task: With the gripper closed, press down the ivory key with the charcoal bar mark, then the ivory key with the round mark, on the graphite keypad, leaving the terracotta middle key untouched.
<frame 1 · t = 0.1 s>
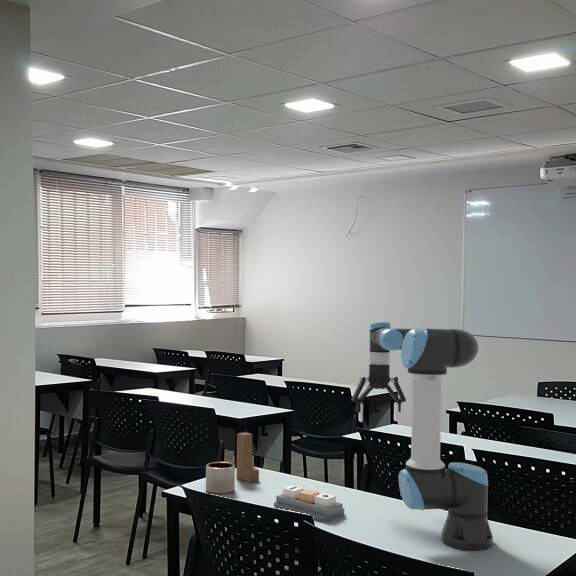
hand: (378, 421, 265), 28 cm above the table, fingers open, 13 cm apart
keypad: (308, 511, 246), on the table
planter: (220, 491, 270), on the table
wooden block: (247, 480, 286), on the table
blank key: (309, 496, 246), point 5 cm above the table, slide at 0.0 cm
bar key: (293, 492, 251), point 5 cm above the table, slide at 0.0 cm
dot key: (325, 500, 242), point 5 cm above the table, slide at 0.0 cm
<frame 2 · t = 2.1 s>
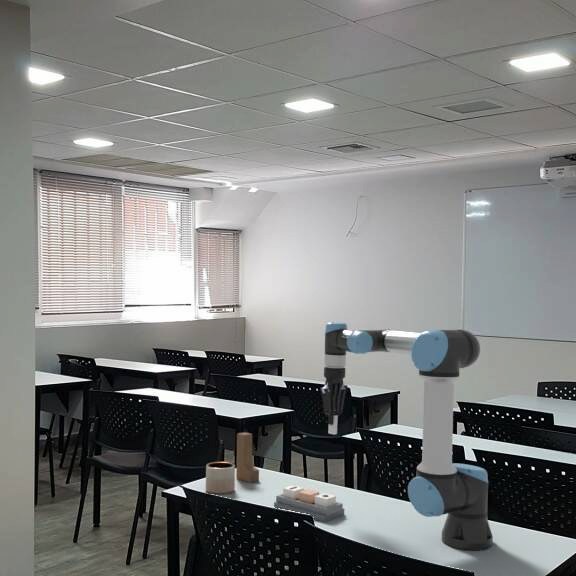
hand: (332, 433, 252), 26 cm above the table, fingers closed
nothing on the table moved.
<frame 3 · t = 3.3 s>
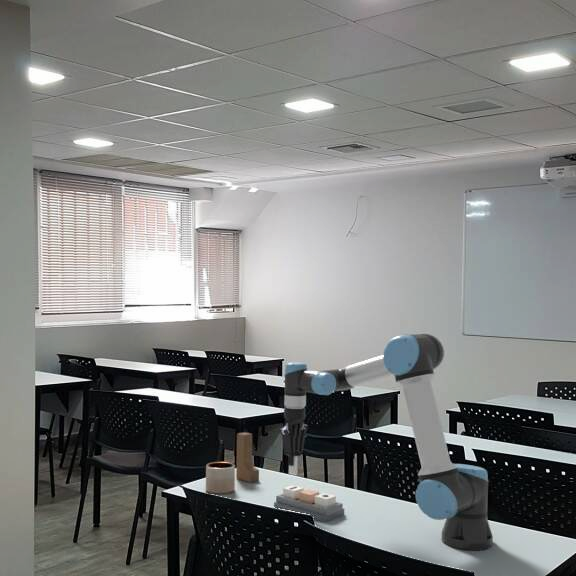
hand: (292, 474, 251), 11 cm above the table, fingers closed
nothing on the table moved.
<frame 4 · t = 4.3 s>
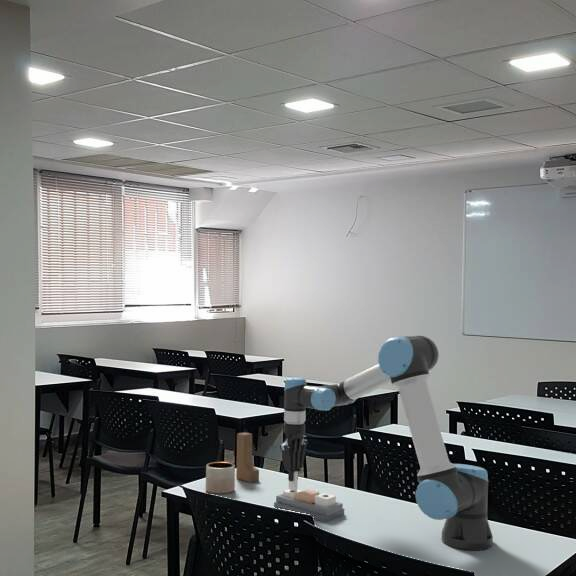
hand: (293, 489, 251), 6 cm above the table, fingers closed
bar key: (293, 495, 251), point 4 cm above the table, slide at 1.0 cm, touching gripper
everything else where it was.
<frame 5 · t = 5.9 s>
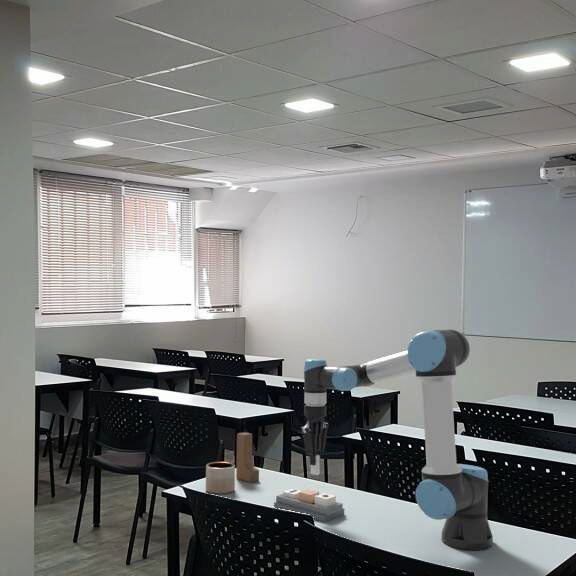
hand: (315, 474, 245), 13 cm above the table, fingers closed
bar key: (293, 495, 251), point 4 cm above the table, slide at 1.1 cm
everything else where it was.
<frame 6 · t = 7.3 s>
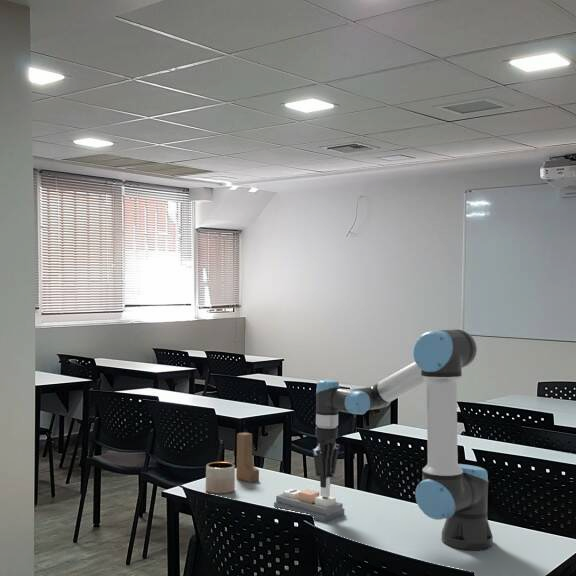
hand: (325, 496, 242), 7 cm above the table, fingers closed
dot key: (325, 501, 242), point 5 cm above the table, slide at 0.5 cm, touching gripper
everything else where it was.
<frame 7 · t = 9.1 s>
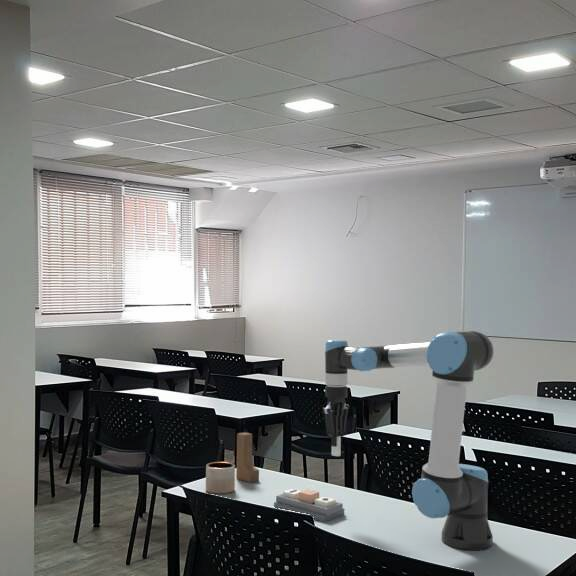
hand: (336, 455, 244), 20 cm above the table, fingers closed
dot key: (325, 503, 242), point 4 cm above the table, slide at 1.2 cm
everything else where it was.
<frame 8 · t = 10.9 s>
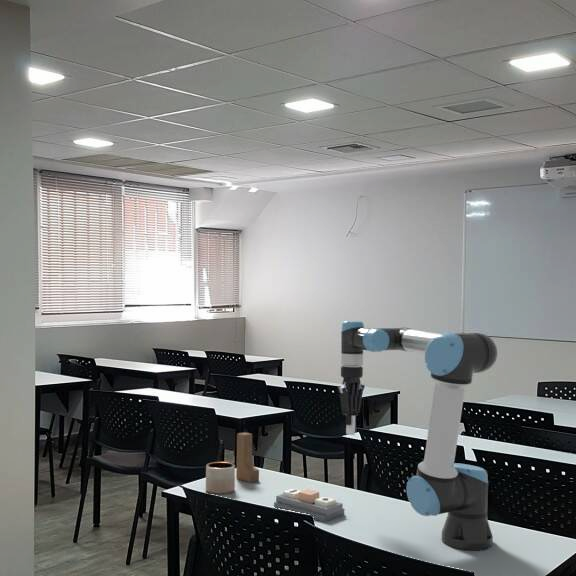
hand: (350, 434, 248), 26 cm above the table, fingers closed
nothing on the table moved.
at the end: bar key slide at 1.1 cm; dot key slide at 1.2 cm; blank key slide at 0.0 cm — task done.
